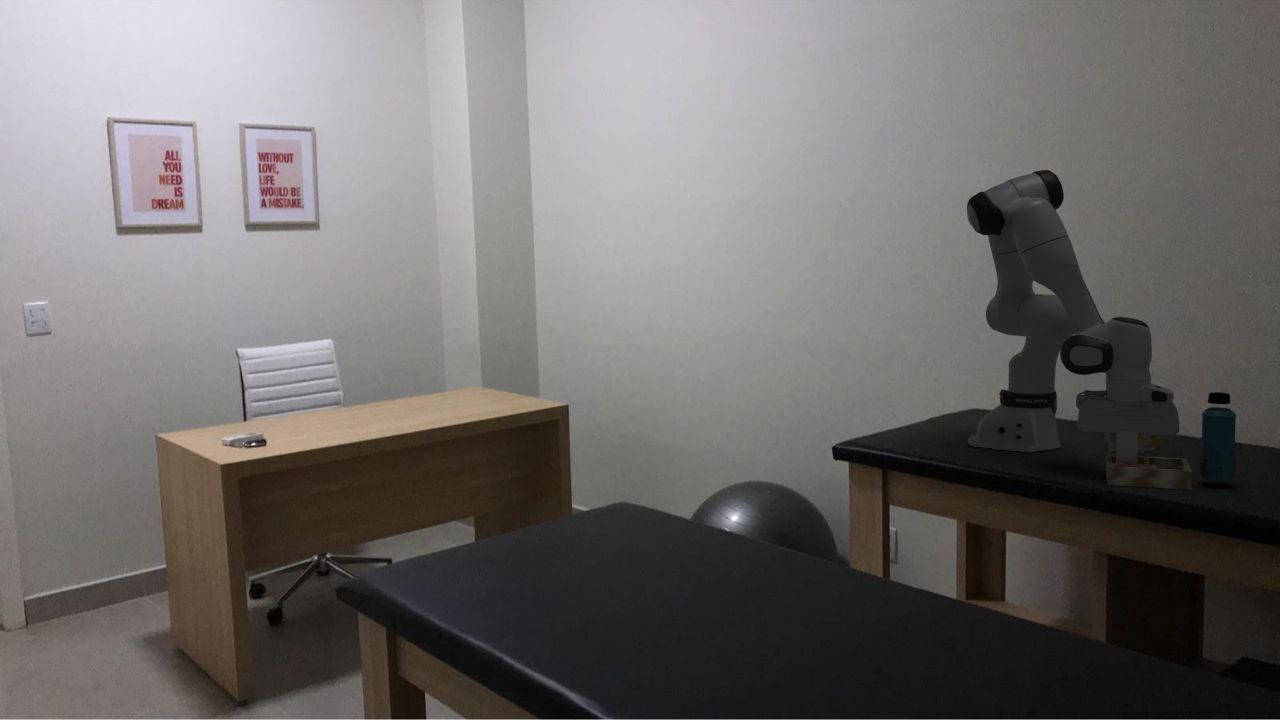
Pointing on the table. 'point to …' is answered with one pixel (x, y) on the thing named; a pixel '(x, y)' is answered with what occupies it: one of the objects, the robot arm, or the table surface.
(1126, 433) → the plug
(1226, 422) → the beverage bottle
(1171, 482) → the socket block
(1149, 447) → the supplement bottle
